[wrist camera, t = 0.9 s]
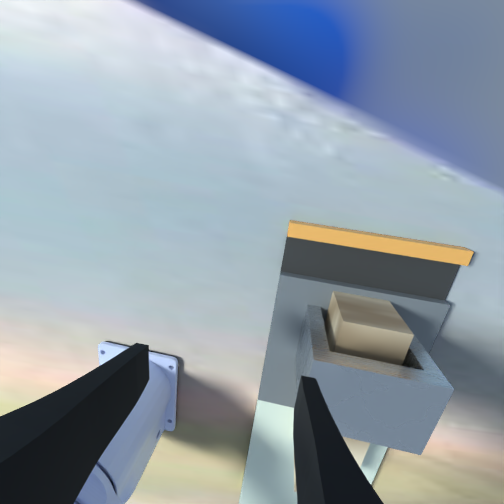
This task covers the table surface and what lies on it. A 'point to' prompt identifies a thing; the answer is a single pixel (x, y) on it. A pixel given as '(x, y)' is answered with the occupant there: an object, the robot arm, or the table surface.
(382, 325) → the bar
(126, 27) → the table surface
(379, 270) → the board
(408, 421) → the tunnel
